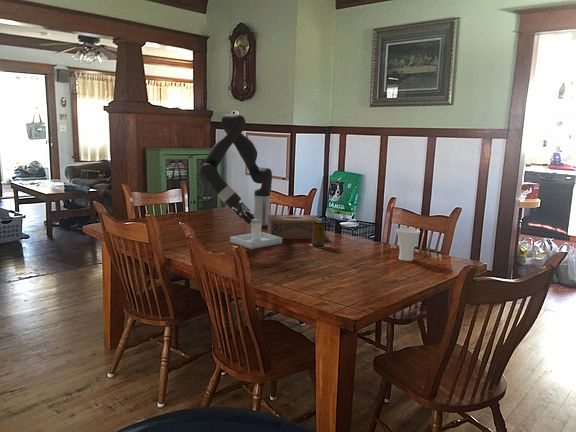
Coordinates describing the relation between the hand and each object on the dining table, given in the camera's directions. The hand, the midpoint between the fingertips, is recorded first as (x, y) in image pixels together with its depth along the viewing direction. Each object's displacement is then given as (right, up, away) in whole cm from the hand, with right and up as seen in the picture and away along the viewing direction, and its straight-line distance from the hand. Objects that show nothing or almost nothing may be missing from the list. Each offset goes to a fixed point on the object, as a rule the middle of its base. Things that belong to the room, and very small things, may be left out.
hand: (251, 221), depth 244 cm
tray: (+2, -11, +2) cm, 11 cm away
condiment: (+33, -12, +1) cm, 35 cm away
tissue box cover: (+20, -8, +21) cm, 31 cm away
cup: (+71, -17, -19) cm, 76 cm away
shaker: (+2, -10, +2) cm, 10 cm away
